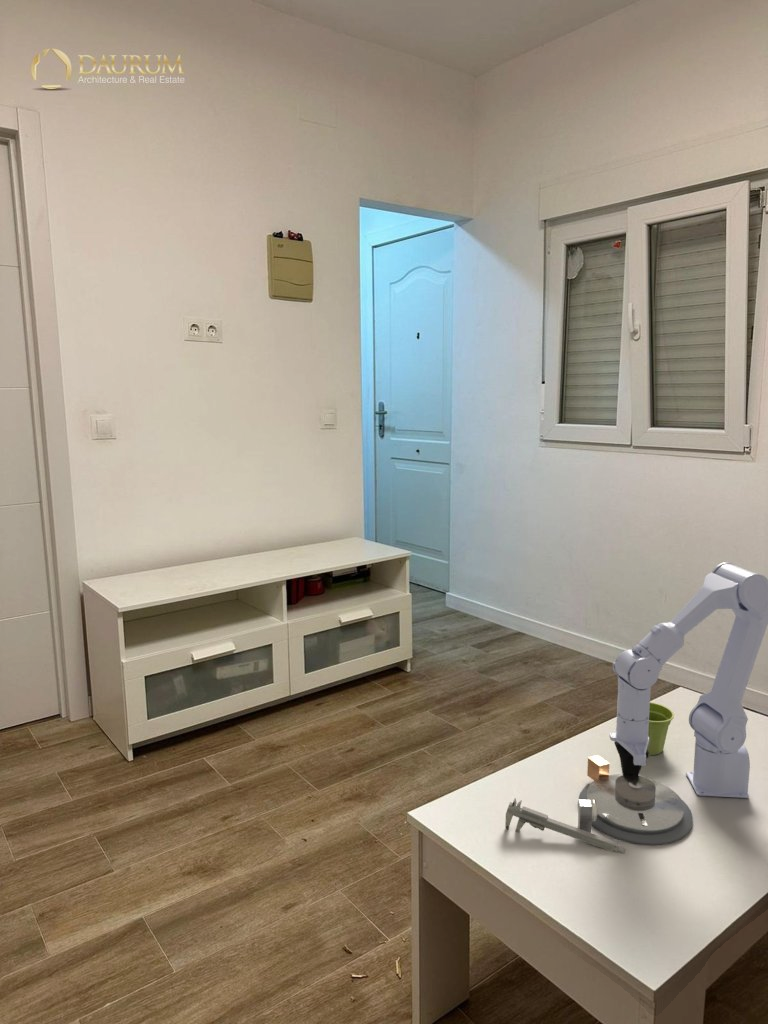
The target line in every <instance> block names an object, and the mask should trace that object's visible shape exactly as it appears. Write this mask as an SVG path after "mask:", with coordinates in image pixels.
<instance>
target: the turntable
mask: <svg viewBox="0 0 768 1024" xmlns="http://www.w3.org/2000/svg"><path fill="white" fill-rule="evenodd" d="M586 773H587V777H589V778H590V779H592V780H593V781H592V782H590V783H589V784H590V785H589V784H588V785H589V787H588V790H587V800H590V799H595V800H596V803H597V817H598V818H599V819H601V820H602V821H604V822H605V823H607V824H609V825H611V826H613V827H616V828H618V829H621V830H624V831H628V832H633V833H639V834H659V833H665V832H668V831H671V830H673V829H675V828H677V827H678V826H679V825H680V824H681V823H682V821H683V818H684V804H683V801H684V800H683V799H682V798H681V797H680V795H679V794H678V793H677V792H675V791H674V790H673V789H672V788H670V787H669V786H667V785H665V784H664V783H662V782H659V781H657V780H655V779H651V778H649V777H646V778H647V779H649V780H650V781H652V782H653V783H654V785H655V787H656V791H655V805H654V807H652V808H651V809H649V810H644V811H637V810H632V809H628V808H626V807H623V806H622V805H620V804H619V803H618V802H617V801H616V799H615V782H616V779H617V778H618V777H620V776H622V775H623V774H622V773H620V774H619V773H618V774H610V762H609V761H607V760H605V758H603V757H601V756H600V755H598V754H596V755H593V756H592V755H591V756H588V757H587V771H586ZM681 799H682V800H683V801H682V800H681Z"/></svg>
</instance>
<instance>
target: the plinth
mask: <svg viewBox="0 0 768 1024" xmlns="http://www.w3.org/2000/svg"><path fill="white" fill-rule="evenodd" d="M590 784H591V783H589V784H588V785H586V786H585V787H584V788H583V789H582V790H581V791H580V793H579V795H578V801H577V802H578V803H577V804H578V805H577V806H579V800H587V790H588V787H589V785H590ZM681 800H682V801H683V804H684V818H683V821H682V823H681V824H680V825H679V826H678V827H677V828H675V829H673V830H671V831H668V832H665V833H659V834H639V833H633V832H628V831H624V830H621V829H618V828H616V827H613V826H611V825H609V824H607V823H605V822H604V821H602V820H601V819H599V818H598V817H597V821H592V824H591V827H593V829H595V830H597V831H599V832H601V833H602V834H603V835H606V836H608V837H611V838H613V839H615V840H618V841H622V842H624V843H629V844H634V845H641V846H662V845H667V844H672V843H675V842H678V841H680V840H681V839H682V840H683V838H685V837H686V836H687V835H689V833H690V832H691V830H692V827H693V819H694V818H693V813H692V810H691V809H690V807H689V805H688V804H687V803H686V802H685V801H684V800H683V799H682V798H681Z"/></svg>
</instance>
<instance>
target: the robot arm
mask: <svg viewBox="0 0 768 1024" xmlns="http://www.w3.org/2000/svg"><path fill="white" fill-rule="evenodd" d="M721 609H722V610H723V609H724V610H729V609H731V610H732V612H733V613H734V615H735V618H734V620H733V624H732V627H731V630H730V632H729V636H728V638H727V642H726V645H725V647H724V650H723V653H722V657H721V661H720V663H719V667H718V669H717V671H716V675H715V678H714V681H713V684H712V687H711V690H710V691H709V692H706V693H702V694H701V695H700V696H699V698H698V701H697V703H696V704H695V706H693V708H692V709H691V710H690V713H689V716H688V724H689V726H690V728H691V729H692V730H693V731H694V735H693V737H694V738H695V744H694V755H693V756H694V761H693V771H686V773H685V774H686V776H687V779H688V781H689V782H690V783H691V786H692V788H693V789H694V791H695V793H696V795H697V796H698V797H699V796H700V797H719V798H722V797H723V798H740V799H747V798H748V799H749V798H750V795H749V782H750V780H749V779H750V770H751V762H750V761H751V760H750V754H749V752H748V749H747V747H746V746H745V745H744V744H745V742H746V739H747V730H746V729H747V724H748V720H749V718H748V716H747V713H746V711H745V709H744V706H743V704H742V701H743V698H744V695H745V692H746V688H747V686H748V683H749V680H750V678H751V674H752V671H753V668H754V667H755V666H754V665H755V662H756V660H757V657H758V653H759V651H760V649H761V645H762V641H763V638H764V636H765V633H766V630H767V627H768V578H767V577H766V576H765V575H763V574H760V573H756V572H753V571H750V570H748V569H745V568H743V567H740V566H738V565H735V564H733V563H731V562H722V563H719V564H717V565H716V566H715V567H714V568H713V569H712V571H711V572H709V573H708V574H707V575H705V577H704V580H703V584H702V587H700V588H699V590H698V591H697V592H696V593H695V594H694V595H693V597H691V599H690V600H689V601H688V602H687V603H686V604H685V605H684V606H683V607H682V608H681V609H680V610H679V612H678V613H677V614H676V615H675V616H674V617H673V618H672V619H671V620H670V621H669V622H660V623H658V624H657V625H653V626H652V627H651V628H650V631H649V632H648V633H647V634H646V635H645V636H644V637H643V638H642V639H641V640H640V641H639V642H638V643H637V644H635V645H634V646H632V648H631V649H627V650H624V651H622V652H620V653H619V654H618V656H616V659H615V661H614V662H612V671H613V672H614V674H615V675H616V676H617V703H616V704H617V705H616V706H617V707H616V729H615V732H610V733H609V739H610V741H612V742H614V746H615V748H616V750H617V751H616V752H617V753H618V755H619V761H620V766H621V774H623V775H638V776H640V772H641V769H642V766H643V767H644V766H646V765H647V759H648V758H649V756H650V755H649V752H648V750H647V747H648V744H649V737H648V728H649V708H650V702H651V690H652V686H653V685H655V684H656V683H657V681H658V679H659V674H660V673H661V671H662V668H663V666H664V665H665V664H666V663H667V662H668V661H669V660H670V659H671V658H673V656H674V655H676V654H677V653H678V652H679V651H680V650H681V649H682V648H683V647H684V645H685V636H686V635H687V634H689V633H690V632H691V631H692V630H694V629H695V628H696V627H697V626H698V625H700V624H701V623H702V622H703V621H704V620H706V619H707V618H708V617H709V616H711V615H712V614H713V613H715V611H716V610H721Z"/></svg>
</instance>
